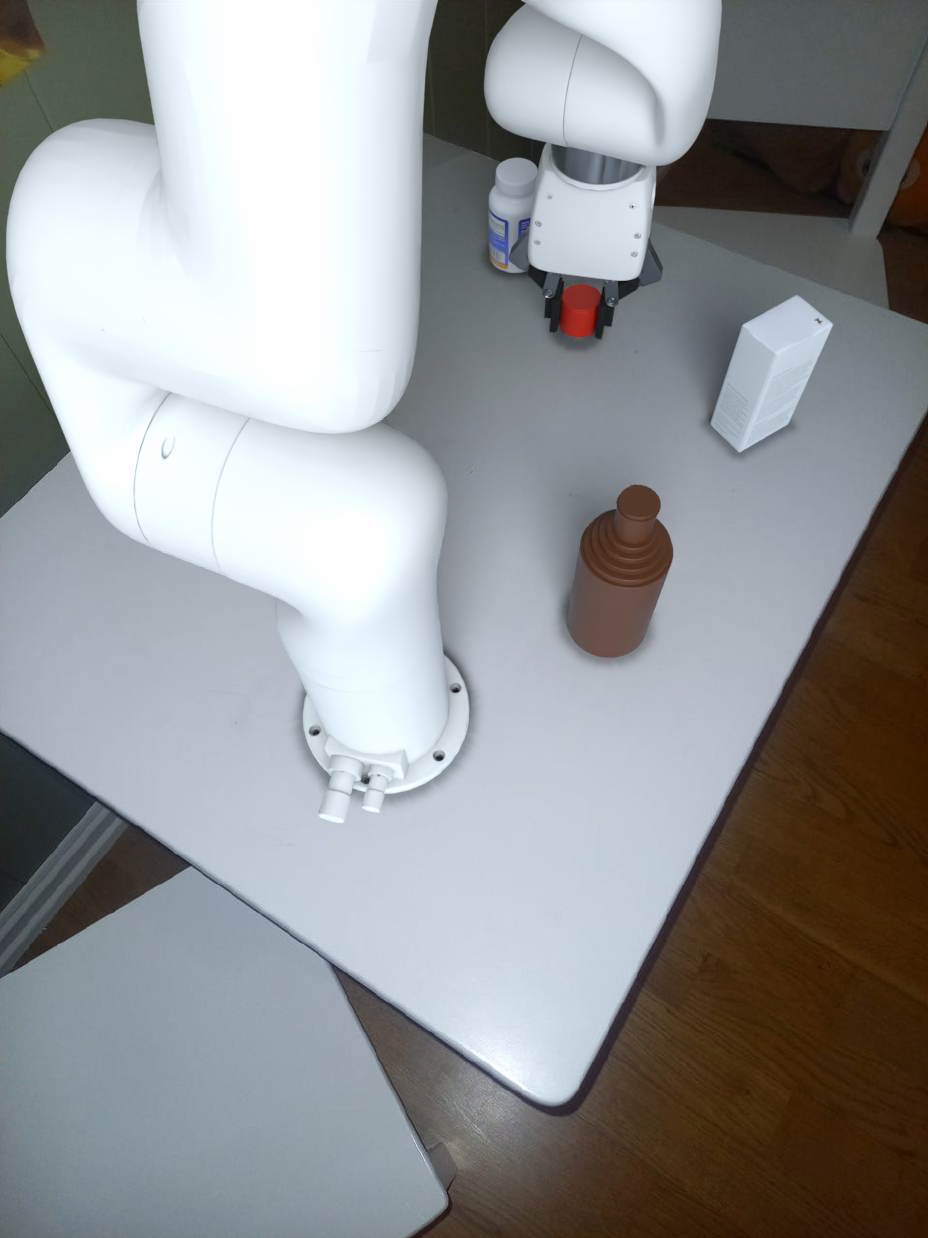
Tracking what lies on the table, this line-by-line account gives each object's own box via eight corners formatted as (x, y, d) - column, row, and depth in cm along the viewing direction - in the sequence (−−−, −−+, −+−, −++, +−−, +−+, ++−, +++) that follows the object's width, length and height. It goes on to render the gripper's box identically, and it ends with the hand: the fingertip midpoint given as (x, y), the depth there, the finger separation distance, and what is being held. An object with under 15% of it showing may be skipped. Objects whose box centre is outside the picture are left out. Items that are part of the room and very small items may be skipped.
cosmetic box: (756, 395, 79) (798, 291, 68) (788, 425, 77) (836, 323, 66) (706, 424, 77) (741, 322, 67) (737, 455, 76) (778, 355, 65)
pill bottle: (542, 240, 89) (548, 152, 81) (539, 276, 87) (544, 189, 78) (490, 238, 90) (491, 150, 81) (486, 273, 87) (486, 187, 79)
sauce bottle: (657, 649, 67) (704, 533, 52) (578, 665, 66) (604, 552, 52) (633, 581, 70) (672, 453, 55) (558, 595, 69) (577, 469, 55)
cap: (584, 306, 84) (587, 278, 81) (606, 328, 82) (610, 300, 79) (551, 319, 83) (553, 292, 80) (572, 342, 81) (576, 314, 78)
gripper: (712, 124, 66) (668, 309, 82) (503, 102, 68) (500, 287, 84) (704, 186, 63) (659, 366, 79) (484, 161, 65) (485, 341, 81)
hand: (577, 323), depth 81 cm, fingers closed on cap, 3 cm apart
